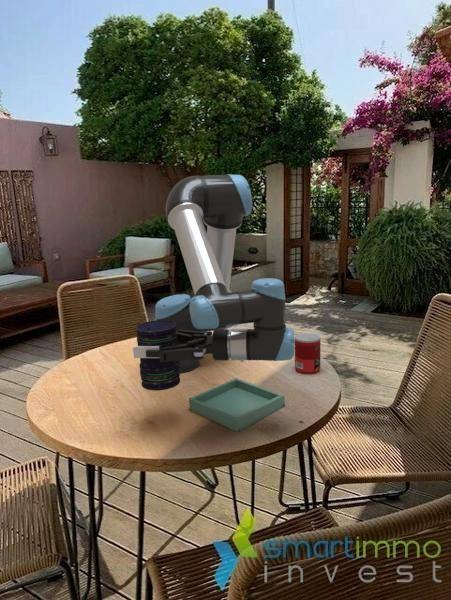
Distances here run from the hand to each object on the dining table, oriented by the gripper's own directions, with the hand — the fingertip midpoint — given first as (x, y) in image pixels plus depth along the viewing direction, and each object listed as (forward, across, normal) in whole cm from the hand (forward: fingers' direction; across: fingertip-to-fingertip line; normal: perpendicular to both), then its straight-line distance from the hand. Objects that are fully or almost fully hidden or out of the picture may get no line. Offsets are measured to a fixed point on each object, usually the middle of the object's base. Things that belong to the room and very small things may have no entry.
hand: (141, 344), depth 114 cm
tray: (-22, +8, -20) cm, 31 cm away
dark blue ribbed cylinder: (-4, 0, -10) cm, 11 cm away
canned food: (-42, +34, -21) cm, 58 cm away
